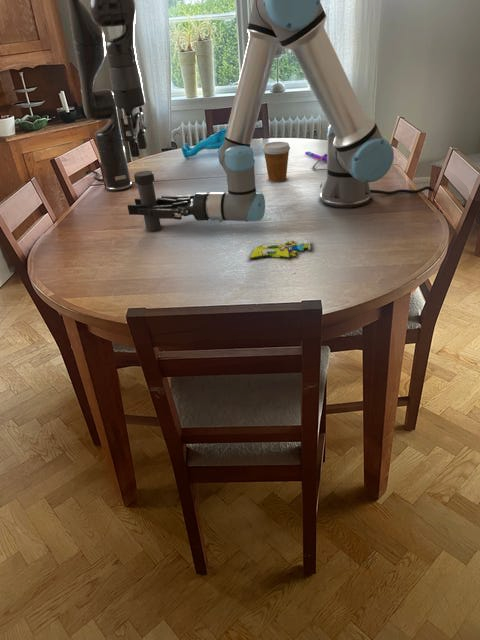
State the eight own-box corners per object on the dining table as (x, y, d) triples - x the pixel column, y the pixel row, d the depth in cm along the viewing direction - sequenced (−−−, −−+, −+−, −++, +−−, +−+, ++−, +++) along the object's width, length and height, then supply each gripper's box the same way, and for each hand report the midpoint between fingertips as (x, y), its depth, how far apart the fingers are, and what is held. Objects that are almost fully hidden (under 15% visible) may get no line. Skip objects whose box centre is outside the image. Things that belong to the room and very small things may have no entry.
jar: (162, 225, 143) (152, 172, 135) (159, 231, 140) (149, 176, 131) (148, 226, 144) (137, 173, 135) (145, 232, 140) (134, 177, 131)
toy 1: (187, 137, 214) (250, 117, 204) (195, 160, 219) (257, 142, 209) (175, 147, 200) (242, 126, 190) (184, 171, 205) (250, 153, 195)
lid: (156, 178, 136) (154, 170, 135) (152, 183, 132) (151, 175, 130) (137, 179, 136) (136, 171, 135) (133, 185, 132) (131, 176, 131)
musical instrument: (342, 175, 173) (362, 153, 185) (341, 169, 172) (361, 148, 184) (283, 174, 186) (305, 153, 198) (282, 169, 184) (305, 148, 196)
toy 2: (310, 255, 116) (249, 256, 118) (310, 259, 116) (249, 259, 119) (310, 238, 124) (253, 239, 127) (310, 241, 125) (253, 242, 127)
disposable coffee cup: (260, 182, 170) (258, 147, 164) (269, 174, 177) (267, 141, 171) (286, 183, 167) (285, 148, 160) (294, 175, 174) (293, 141, 168)
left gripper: (120, 83, 127) (132, 147, 136) (104, 91, 115) (118, 160, 124) (148, 81, 127) (158, 145, 135) (134, 89, 115) (147, 158, 123)
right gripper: (202, 231, 129) (122, 230, 134) (218, 208, 143) (146, 208, 148) (198, 204, 125) (116, 204, 130) (216, 183, 139) (141, 184, 144)
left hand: (139, 152), depth 130 cm, fingers open, 7 cm apart
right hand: (132, 206), depth 139 cm, fingers closed on jar, 4 cm apart
